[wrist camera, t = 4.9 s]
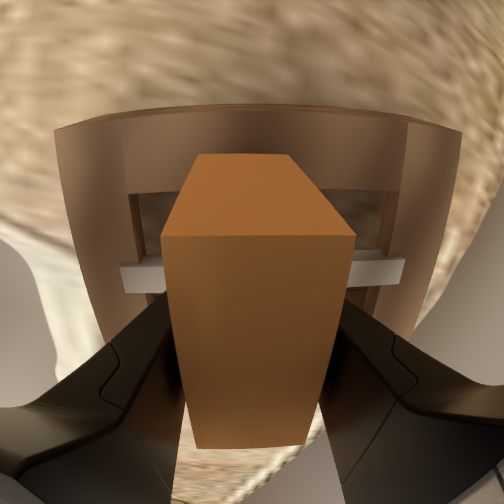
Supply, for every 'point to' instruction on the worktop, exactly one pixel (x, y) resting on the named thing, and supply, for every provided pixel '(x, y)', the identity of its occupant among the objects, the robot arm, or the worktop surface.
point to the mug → (176, 502)
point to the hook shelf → (257, 142)
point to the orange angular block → (253, 297)
